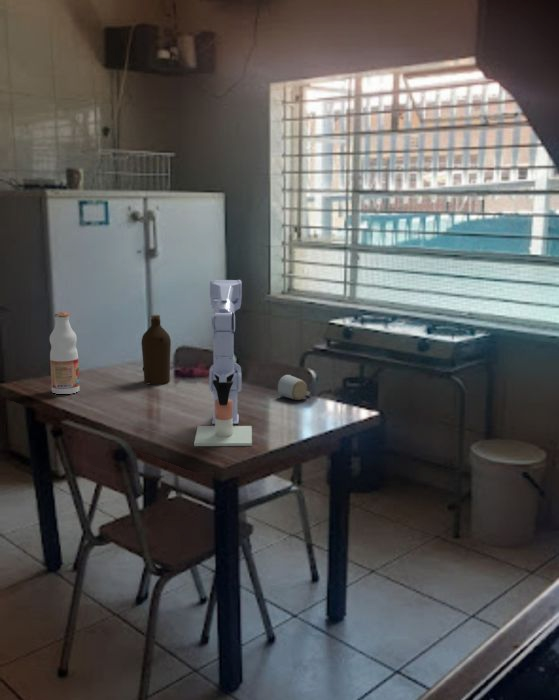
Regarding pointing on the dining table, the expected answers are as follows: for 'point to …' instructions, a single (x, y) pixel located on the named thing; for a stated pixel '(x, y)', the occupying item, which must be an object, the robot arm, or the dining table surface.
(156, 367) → the olive oil
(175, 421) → the dining table surface
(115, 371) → the dining table surface
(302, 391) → the ceramic mug
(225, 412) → the pink rounded piece
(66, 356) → the fruit juice
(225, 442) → the baseplate
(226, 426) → the off-white rounded cylinder
